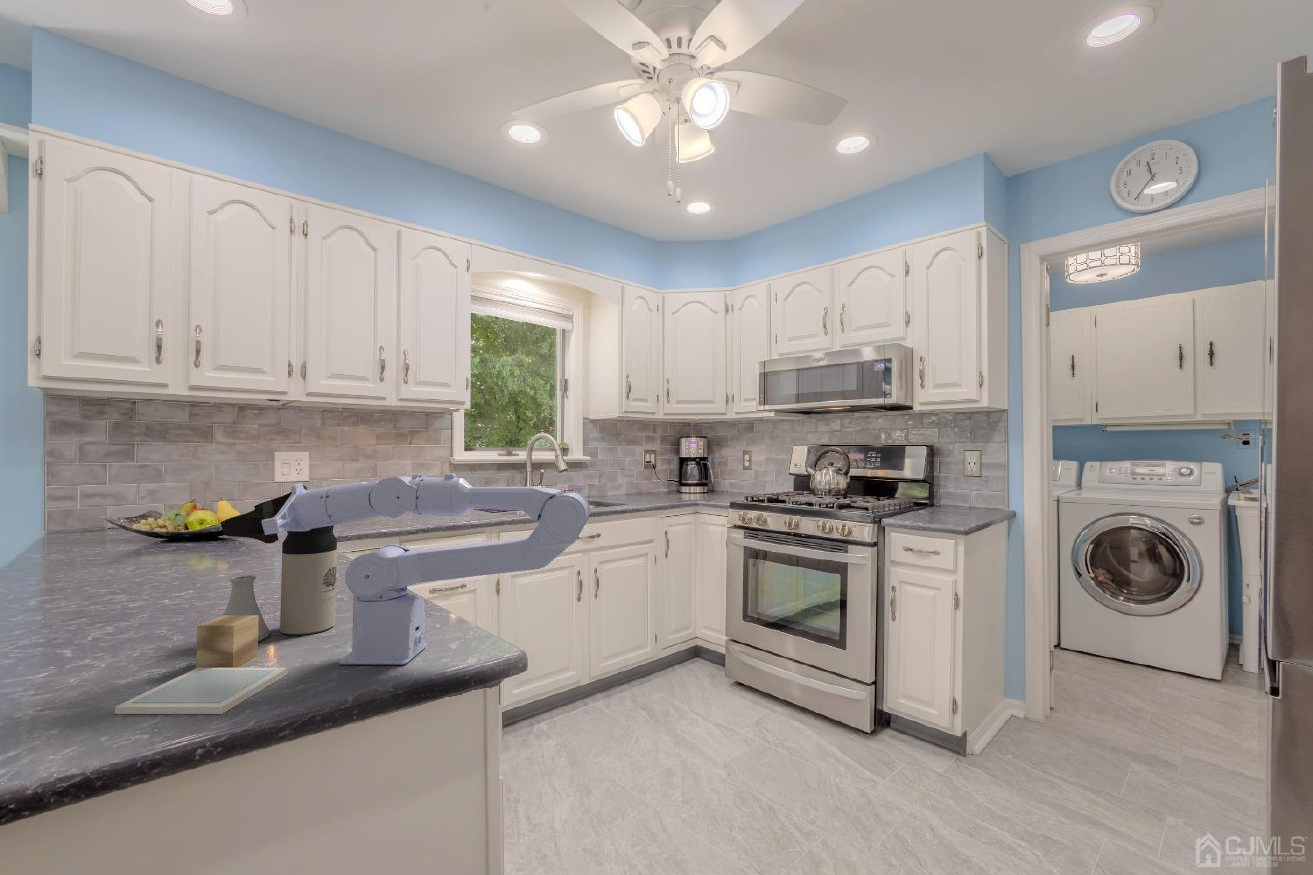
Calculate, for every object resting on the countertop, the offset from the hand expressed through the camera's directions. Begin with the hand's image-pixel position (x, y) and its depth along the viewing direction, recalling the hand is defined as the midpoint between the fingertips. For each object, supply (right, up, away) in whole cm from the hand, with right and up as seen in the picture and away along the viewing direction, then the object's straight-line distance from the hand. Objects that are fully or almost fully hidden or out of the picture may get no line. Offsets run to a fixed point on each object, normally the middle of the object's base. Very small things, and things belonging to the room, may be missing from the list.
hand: (241, 519), depth 84 cm
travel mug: (+2, -21, +13) cm, 24 cm away
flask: (-5, -20, +7) cm, 22 cm away
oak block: (0, -20, -3) cm, 20 cm away
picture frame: (+5, -20, -13) cm, 24 cm away
